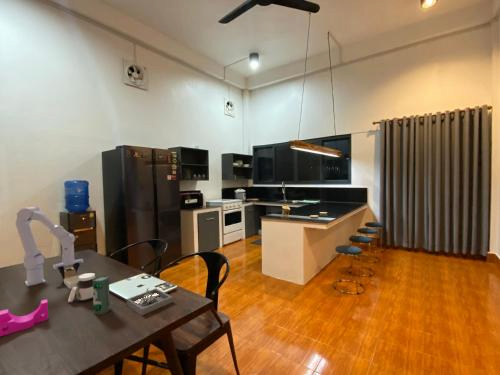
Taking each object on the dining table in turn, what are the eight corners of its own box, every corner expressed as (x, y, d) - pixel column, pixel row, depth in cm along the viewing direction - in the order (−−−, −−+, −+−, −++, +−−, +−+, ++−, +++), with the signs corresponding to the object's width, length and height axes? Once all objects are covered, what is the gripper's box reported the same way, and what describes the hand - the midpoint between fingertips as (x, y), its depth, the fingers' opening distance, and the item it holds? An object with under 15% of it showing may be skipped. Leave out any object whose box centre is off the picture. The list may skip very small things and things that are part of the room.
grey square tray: (126, 305, 119) (126, 299, 119) (156, 294, 130) (156, 288, 130) (142, 316, 109) (141, 309, 109) (172, 303, 121) (172, 296, 120)
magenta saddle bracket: (-2, 337, 96) (-3, 317, 96) (-1, 329, 101) (-2, 311, 101) (48, 321, 106) (47, 304, 106) (47, 315, 111) (46, 299, 111)
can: (93, 310, 115) (92, 277, 114) (108, 306, 118) (107, 274, 118) (94, 316, 110) (93, 282, 109) (110, 311, 113) (109, 278, 113)
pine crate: (62, 279, 151) (62, 269, 151) (72, 276, 155) (72, 267, 155) (65, 282, 146) (65, 272, 146) (76, 279, 150) (75, 269, 150)
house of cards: (139, 313, 112) (139, 296, 112) (135, 305, 119) (135, 289, 119) (160, 307, 117) (159, 291, 117) (155, 299, 124) (155, 284, 124)
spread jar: (101, 297, 127) (100, 274, 127) (77, 307, 117) (76, 283, 117) (87, 292, 133) (86, 270, 133) (63, 301, 123) (62, 278, 123)
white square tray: (64, 283, 145) (63, 278, 145) (86, 277, 153) (86, 273, 153) (69, 289, 137) (69, 284, 137) (93, 282, 146) (93, 277, 146)
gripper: (54, 259, 142) (55, 282, 142) (84, 253, 153) (85, 275, 153) (51, 256, 147) (52, 279, 147) (80, 251, 158) (81, 272, 158)
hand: (69, 277), depth 151 cm, fingers closed on pine crate, 5 cm apart
